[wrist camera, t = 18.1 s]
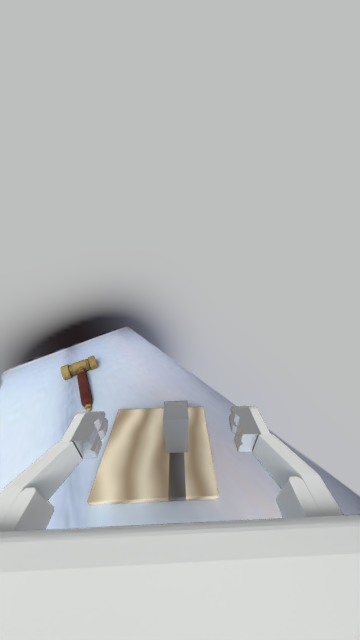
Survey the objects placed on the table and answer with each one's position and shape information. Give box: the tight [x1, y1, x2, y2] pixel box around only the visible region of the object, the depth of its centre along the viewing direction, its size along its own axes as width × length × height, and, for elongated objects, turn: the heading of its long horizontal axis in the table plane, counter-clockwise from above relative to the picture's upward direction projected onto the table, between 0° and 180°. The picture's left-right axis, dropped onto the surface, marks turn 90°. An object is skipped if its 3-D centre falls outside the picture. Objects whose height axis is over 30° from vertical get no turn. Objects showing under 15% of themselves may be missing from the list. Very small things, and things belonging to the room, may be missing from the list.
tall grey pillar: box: [163, 401, 189, 453], centre depth 31 cm, size 4×4×11 cm
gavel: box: [61, 356, 98, 412], centre depth 48 cm, size 21×5×10 cm
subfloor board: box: [87, 407, 218, 505], centre depth 34 cm, size 22×16×2 cm
